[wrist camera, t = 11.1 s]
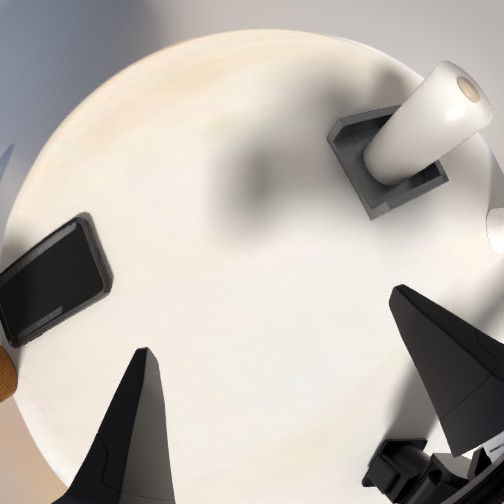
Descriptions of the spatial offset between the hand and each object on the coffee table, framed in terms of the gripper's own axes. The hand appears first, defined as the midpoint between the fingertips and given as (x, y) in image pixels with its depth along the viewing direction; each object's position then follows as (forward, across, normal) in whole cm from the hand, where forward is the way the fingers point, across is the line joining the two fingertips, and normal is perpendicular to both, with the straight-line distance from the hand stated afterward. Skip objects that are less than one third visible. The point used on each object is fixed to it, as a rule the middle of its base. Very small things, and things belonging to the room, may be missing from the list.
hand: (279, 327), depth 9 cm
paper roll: (+16, -16, +2) cm, 23 cm away
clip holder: (+17, -16, +2) cm, 23 cm away
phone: (+14, +19, +6) cm, 24 cm away
